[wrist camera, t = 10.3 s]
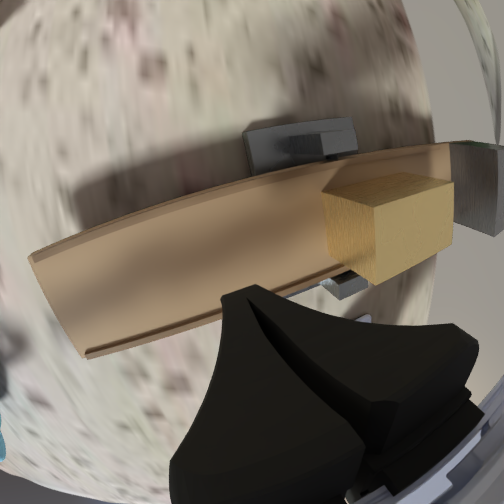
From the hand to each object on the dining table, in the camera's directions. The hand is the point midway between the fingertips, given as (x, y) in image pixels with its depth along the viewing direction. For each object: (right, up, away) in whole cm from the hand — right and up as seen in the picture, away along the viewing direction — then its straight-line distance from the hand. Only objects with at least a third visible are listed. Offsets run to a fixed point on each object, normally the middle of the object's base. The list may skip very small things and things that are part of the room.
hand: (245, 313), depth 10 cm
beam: (+6, +4, +7) cm, 10 cm away
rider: (+8, +5, +7) cm, 12 cm away
